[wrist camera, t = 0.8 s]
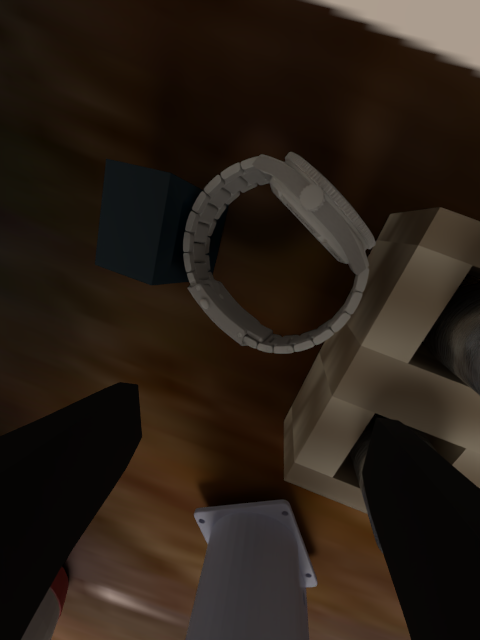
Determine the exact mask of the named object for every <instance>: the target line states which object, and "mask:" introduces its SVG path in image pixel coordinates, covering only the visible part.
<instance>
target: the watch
mask: <svg viewBox="0 0 480 640" xmlns="http://www.w3.org/2000/svg"><path fill="white" fill-rule="evenodd" d="M285 160H286V161H285V162H283V161H280V160H278V159H275V158H273V157H270V156H267V155H263V154H261V155H260V156H257V157H253V158H249V159H247V160H244V161H242V162H241V164H240V163H236V164H234V165H232V166H230V167H228V168H227V169H225V170H224V171H222V172H221V176H220V175H217V176H216V177H215V178H213V179H212V180H211V181H210V182H209V183H208V185H207V186H206V187H205V188H204V191H203V190H201V189H200V188H198V187H196V186H194V185H192V184H190V183H188V182H187V181H185V180H183V179H181V178H179V177H177V176H176V175H174V174H172V173H169V172H164V171H160V170H155V169H151V168H146V167H141V166H137V165H132V164H128V163H123V162H118V161H114V160H109V159H106V167H105V176H104V186H103V195H102V204H101V214H100V223H99V232H98V242H97V251H96V260H95V265H98V266H100V267H103V268H106V269H109V270H111V271H114V272H117V273H119V274H122V275H125V276H128V277H130V278H133V279H136V280H139V281H141V282H144V283H147V284H149V285H160V284H170V283H180V282H190V286H189V287H188V290H189V291H190V293H191V294H192V296H193V297H194V299H195V300H196V301H197V303H198V304H199V305H200V307H201V308H202V309H203V311H204V312H205V313H206V314H207V315H208V316H209V318H210V319H211V320H212V321H213V322H214V323H215V324H216V325H217V326H218V327H219V328H220V329H222V330H223V331H224V332H225V333H226V334H227V335H229V336H230V337H231V338H232V339H234V340H235V341H236V342H237V343H239V344H240V345H242V346H247V345H248V346H250V347H252V348H257V349H258V350H260V351H263V352H268V353H272V352H274V353H277V354H287V353H293V352H294V351H295V352H299V351H303V350H306V349H309V348H312V347H314V345H318V344H320V343H322V342H324V341H326V340H327V339H329V338H330V337H331V336H333V335H334V332H337V331H339V330H340V329H341V328H342V327H343V326H344V325H345V324H346V322H347V321H348V320H349V319H350V317H351V314H353V313H354V311H355V310H356V308H357V306H358V304H359V302H360V300H361V298H362V292H363V291H364V290H365V287H366V284H367V280H368V275H369V268H368V266H369V262H368V259H367V256H366V253H365V251H366V249H371V248H372V247H373V246H375V245H376V242H375V239H374V237H373V235H372V233H371V231H370V230H369V228H368V227H367V225H366V224H365V222H364V221H363V220H362V218H361V217H360V216H359V214H358V213H357V212H356V211H355V209H354V208H353V207H352V206H351V204H350V203H349V202H348V201H347V200H346V199H345V198H344V196H343V195H342V194H341V193H340V192H339V191H338V190H337V189H336V188H335V187H334V186H333V185H332V184H331V183H330V182H329V181H328V180H327V179H326V178H325V177H324V176H323V175H322V174H321V173H320V172H319V171H318V170H317V169H315V168H314V167H313V166H312V165H311V164H310V163H308V162H307V161H306V160H305V159H303V158H302V157H301V156H299V155H297V154H295V153H293V152H289V153H288V155H287V156H286V157H285ZM257 183H258V184H259V185H264V184H268V183H270V186H271V189H272V192H273V193H274V194H275V195H276V196H277V197H278V198H279V199H280V200H281V201H282V202H283V204H284V205H285V206H286V207H287V208H288V209H289V210H290V211H291V212H292V213H293V214H294V215H295V216H296V217H297V218H298V219H299V220H300V221H301V223H302V224H303V225H304V226H305V227H306V228H307V229H308V230H309V231H310V232H311V233H312V234H313V235H314V236H315V237H316V238H317V239H318V241H319V242H320V243H321V244H322V245H323V246H324V247H325V248H326V249H327V250H328V251H329V252H330V253H331V254H332V255H333V256H334V257H335V258H336V259H337V261H339V262H342V263H345V264H348V265H349V267H350V269H351V270H352V272H353V273H354V274H356V276H355V280H354V285H353V288H352V289H351V291H350V294H349V296H348V298H347V300H346V302H345V304H344V305H343V306H342V307H341V308H340V310H339V311H338V312H337V313H336V314H335V315H334V316H333V318H332V319H330V320H328V321H327V322H326V323H324V324H323V325H321V326H319V327H318V329H317V330H316V329H314V330H311V331H309V332H306V333H303V334H301V336H299V335H290V336H284V337H282V336H281V335H276V334H272V333H273V331H272V330H271V329H269V328H267V327H265V326H263V325H261V324H260V322H259V321H258V320H257V319H256V318H254V317H253V316H252V315H250V314H249V313H248V312H247V311H246V310H244V309H243V308H242V307H241V306H240V305H239V304H238V303H237V302H236V301H235V300H234V298H233V297H232V296H231V295H230V294H229V292H228V291H227V290H226V288H225V287H224V286H223V284H222V283H221V282H220V281H216V280H214V278H213V271H214V266H215V262H216V258H217V253H218V249H219V245H220V241H221V236H222V232H223V228H224V223H225V219H226V215H227V211H228V206H229V204H230V203H231V202H232V201H233V200H235V199H236V198H237V197H238V196H239V195H240V191H241V192H242V193H244V192H246V191H248V190H250V189H252V188H255V187H256V186H257Z"/></svg>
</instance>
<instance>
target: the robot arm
mask: <svg viewBox="0 0 480 640" xmlns="http://www.w3.org/2000/svg"><path fill="white" fill-rule="evenodd" d="M141 438H142V430H141V417H140V404H139V391H138V385H137V384H129V383H122V382H120V383H117V384H114V385H112V386H110V387H107V388H105V389H103V390H101V391H98V392H96V393H94V394H92V395H90V396H88V397H86V398H84V399H81V400H79V401H77V402H75V403H73V404H71V405H69V406H67V407H65V408H62V409H60V410H58V411H56V412H54V413H52V414H50V415H48V416H45V417H43V418H41V419H39V420H36V421H34V422H32V423H30V424H27V425H25V426H23V427H21V428H18V429H16V430H14V431H11V432H9V433H7V434H5V435H2V436H0V640H21V639H22V637H23V635H24V633H25V631H26V629H27V627H28V626H29V624H30V622H31V620H32V618H33V617H34V615H35V613H36V611H37V609H38V608H39V606H40V604H41V602H42V601H43V599H44V597H45V595H46V593H47V592H48V590H49V588H50V586H51V585H52V583H53V581H54V579H55V577H56V576H57V574H58V572H59V570H60V569H61V567H62V565H63V564H64V562H65V561H66V559H67V557H68V556H69V554H70V553H71V551H72V549H73V548H74V546H75V545H76V543H77V542H78V540H79V539H80V537H81V536H82V534H83V533H84V531H85V530H86V528H87V527H88V525H89V524H90V522H91V521H92V519H93V518H94V516H95V515H96V513H97V512H98V510H99V509H100V507H101V506H102V504H103V503H104V501H105V500H106V498H107V497H108V495H109V494H110V492H111V491H112V489H113V488H114V486H115V485H116V483H117V482H118V480H119V479H120V477H121V476H122V474H123V472H124V471H125V469H126V468H127V466H128V464H129V462H130V460H131V458H132V456H133V454H134V452H135V450H136V448H137V446H138V444H139V442H140V440H141ZM362 477H363V482H364V487H365V492H366V497H367V501H368V506H369V510H370V514H371V517H372V520H373V523H374V526H375V529H376V532H377V536H378V539H379V542H380V545H381V548H382V551H383V554H384V557H385V560H386V563H387V566H388V569H389V572H390V575H391V578H392V581H393V584H394V587H395V590H396V593H397V596H398V599H399V602H400V605H401V608H402V611H403V614H404V617H405V620H406V623H407V627H408V630H409V633H410V637H411V640H480V488H479V487H477V486H476V485H475V484H474V483H473V482H471V481H470V480H469V479H468V478H467V477H465V476H464V475H463V474H462V473H461V472H459V471H458V470H457V469H456V468H455V467H454V466H452V465H451V464H450V463H449V462H448V461H447V460H445V459H444V458H443V457H442V456H441V455H440V454H439V453H437V452H436V451H435V450H434V449H433V448H432V447H430V446H429V445H428V444H427V443H426V442H425V441H423V440H422V439H421V438H420V437H419V436H418V435H416V434H415V433H414V432H413V431H412V430H410V429H409V428H408V427H407V426H406V425H404V424H403V423H402V422H400V421H399V420H392V419H385V418H378V417H376V419H375V423H374V427H373V431H372V435H371V439H370V443H369V446H368V450H367V454H366V458H365V462H364V466H363V469H362ZM194 517H195V519H196V521H197V523H198V525H199V527H200V529H201V531H202V533H203V535H204V537H205V539H206V541H207V543H208V547H207V551H206V555H205V559H204V564H203V568H202V572H201V576H200V580H199V585H198V589H197V593H196V597H195V601H194V606H193V610H192V614H191V618H190V622H189V627H188V631H187V635H186V639H185V640H309V628H308V613H307V597H306V587H315V586H317V577H316V575H315V572H314V569H313V566H312V564H311V561H310V558H309V555H308V553H307V550H306V547H305V544H304V542H303V539H302V536H301V533H300V531H299V528H298V525H297V522H296V520H295V517H294V514H293V511H292V509H291V506H290V503H289V502H288V501H287V500H284V499H280V500H271V501H261V502H252V503H242V504H232V505H223V506H213V507H204V508H197V509H196V510H195V513H194Z"/></svg>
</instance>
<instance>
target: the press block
mask: <svg viewBox="0 0 480 640" xmlns="http://www.w3.org/2000/svg"><path fill="white" fill-rule="evenodd" d="M367 259H368V262H369V266H368V268H369V275H368V280H367V284H366V287H365V290H364V291H363V292H362V298H361V300H360V302H359V304H358V306H357V308H356V310H355V311H354V313H353V314H351V317H350V319H349V320H348V321H347V322H346V324H345V325H344V326H343V327H342V328H341V329H340V330H339V331H337V332H334V335H333V336H331V337H330V338H329V339H327V340H326V341H325V342H324V344H323V346H322V348H321V350H320V352H319V354H318V356H317V358H316V359H315V361H314V363H313V365H312V367H311V369H310V371H309V373H308V375H307V377H306V379H305V381H304V383H303V385H302V387H301V389H300V391H299V393H298V395H297V396H296V398H295V400H294V402H293V404H292V406H291V408H290V410H289V412H288V414H287V416H286V418H285V420H284V480H285V481H287V482H290V483H292V484H295V485H297V486H300V487H302V488H305V489H307V490H310V491H312V492H315V493H317V494H320V495H322V496H324V497H327V498H329V499H332V500H334V501H337V502H339V503H342V504H344V505H347V506H349V507H352V508H354V509H357V510H359V511H362V512H364V513H367V509H366V506H365V503H364V499H363V496H362V492H361V489H360V486H359V482H358V479H357V476H356V472H355V469H354V466H353V462H352V459H351V455H350V450H351V449H352V447H353V446H354V444H355V443H356V441H357V440H358V438H359V437H360V435H361V434H362V432H363V431H364V429H365V428H366V426H367V425H368V423H369V422H370V420H371V419H372V417H373V416H374V414H375V413H376V414H379V415H382V416H384V417H387V418H389V419H392V420H399V421H400V422H402V423H403V424H405V425H407V426H410V427H412V428H415V429H417V430H420V431H423V432H424V434H425V435H426V437H427V438H428V439H429V441H430V442H431V444H432V445H433V447H434V448H435V450H436V451H437V453H439V454H440V455H441V456H442V457H443V458H444V459H445V460H447V461H448V462H449V463H450V464H451V465H452V466H454V467H455V468H456V469H457V470H458V471H459V472H461V473H462V474H463V475H464V476H465V477H467V478H468V479H469V480H470V481H471V482H473V483H474V484H475V485H476V486H477V487H479V488H480V395H478V394H477V393H476V392H475V391H474V390H473V389H471V388H470V387H469V386H468V385H467V384H465V383H464V382H463V381H462V380H461V379H460V378H458V377H457V376H456V375H455V374H454V373H453V372H451V371H450V370H449V369H448V368H447V367H445V366H444V365H443V364H442V363H441V362H440V361H438V360H437V359H436V358H435V357H434V356H433V355H431V353H430V352H429V351H428V350H427V348H426V346H425V345H422V344H421V343H422V341H423V340H424V338H425V337H426V335H427V334H428V332H429V331H430V329H431V328H432V326H433V325H434V323H435V322H436V320H437V319H438V317H439V316H440V314H441V313H442V311H443V310H444V308H445V307H446V305H447V304H448V302H449V300H450V299H451V297H452V296H453V294H454V293H455V291H456V290H457V288H458V287H459V285H460V284H461V282H462V281H463V279H464V278H465V276H466V275H467V274H469V275H472V276H475V277H477V278H480V221H477V220H475V219H472V218H469V217H466V216H464V215H461V214H458V213H455V212H453V211H450V210H447V209H444V208H442V207H437V208H429V209H422V210H415V211H408V212H400V213H393V214H390V215H389V217H388V219H387V221H386V223H385V225H384V227H383V229H382V231H381V233H380V235H379V237H378V239H377V241H376V245H375V246H373V248H372V250H371V252H370V254H369V256H368V258H367ZM352 288H353V287H352ZM349 294H350V293H349ZM348 296H349V295H348ZM347 298H348V297H347ZM346 300H347V299H346ZM345 302H346V301H345ZM344 304H345V303H344ZM367 514H368V513H367Z"/></svg>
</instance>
